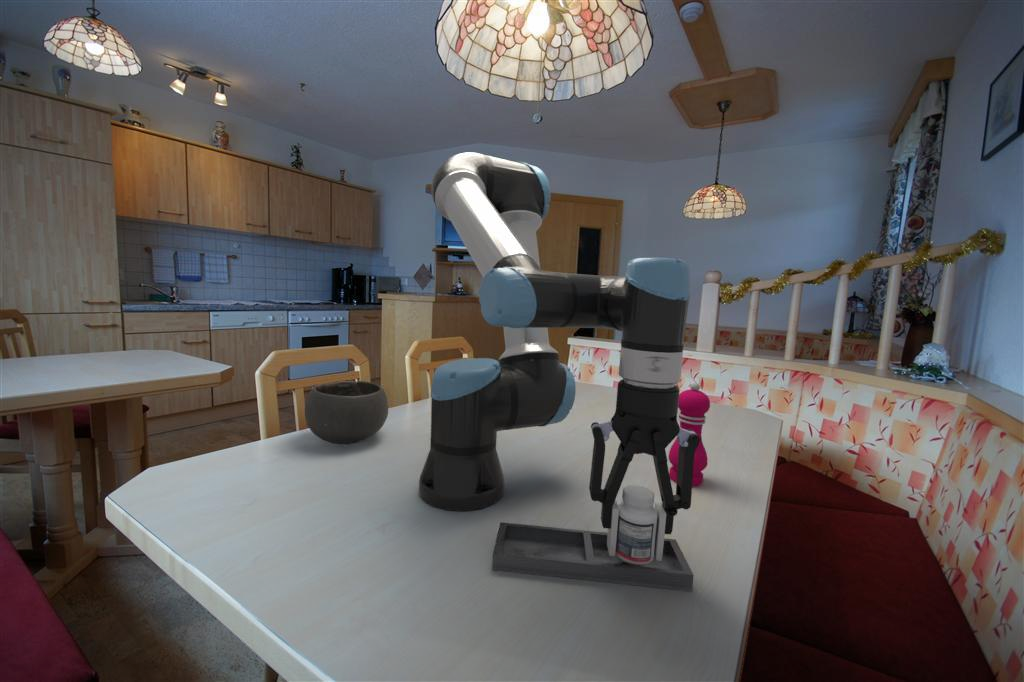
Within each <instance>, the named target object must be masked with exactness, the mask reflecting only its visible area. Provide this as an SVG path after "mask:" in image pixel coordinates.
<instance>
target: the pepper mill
mask: <svg viewBox="0 0 1024 682" xmlns="http://www.w3.org/2000/svg"><path fill="white" fill-rule="evenodd" d="M689 388H690V389H685V390H683V391H681V392H679V401H678V409H679V412H677V415H678V416H677V421H679V427H680V428H683V429H685V430H688V429H691V430H693V431H694V432H695V433H696V434H697V435H698V436H699V437H700V443H699V445H698V447H697V449H696V452H695V454H694V468H693V482H692V487H700V486H702V484H703V481H704V473H703V472H702V471H704V470H705V469H706V468H707V466H708V455H707V451H706V448H705V446H704V442H703V439H702V430H703V425H705V424H706V419H707V417H706V415H705V414H707V412H709V410H710V408H711V401H710V399H709V396H708V395H707V394H706V393H705V392H703V391H701V390H700V389H701V386H700V384H699V383H698V382H695V381H693V382H692V383H690V385H689ZM677 440H678V436H676V437H675V440H674V442H673V443H672V445H671V447H670V448H669V452H668V456H667V459H668V461H669V463H670V465H671V467H670V468H669V475H670V481H673V482H675V483H677V469H678V454H679V445H680V444H679V443H678V441H677Z"/></svg>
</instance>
